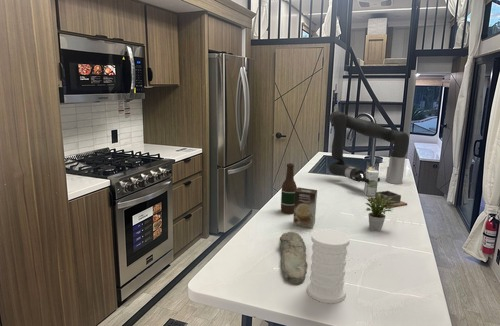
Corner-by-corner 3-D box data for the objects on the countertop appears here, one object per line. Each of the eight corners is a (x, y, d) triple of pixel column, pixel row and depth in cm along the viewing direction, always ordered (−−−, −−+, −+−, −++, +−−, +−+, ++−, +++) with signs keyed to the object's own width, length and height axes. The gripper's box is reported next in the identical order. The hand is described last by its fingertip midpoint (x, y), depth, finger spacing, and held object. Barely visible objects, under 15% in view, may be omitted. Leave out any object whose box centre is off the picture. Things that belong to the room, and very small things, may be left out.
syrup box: (373, 193, 207) (376, 169, 203) (376, 196, 201) (378, 171, 198) (363, 193, 207) (366, 168, 204) (365, 196, 201) (368, 171, 198)
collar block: (367, 201, 195) (368, 191, 194) (387, 198, 200) (388, 188, 199) (387, 209, 182) (388, 199, 181) (407, 206, 188) (408, 196, 187)
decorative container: (316, 277, 116) (320, 225, 112) (351, 289, 109) (356, 235, 105) (300, 293, 106) (303, 237, 103) (336, 308, 100) (341, 249, 96)
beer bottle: (298, 210, 177) (300, 163, 171) (293, 215, 170) (295, 166, 164) (283, 207, 180) (285, 161, 174) (277, 212, 173) (279, 164, 168)
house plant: (374, 238, 146) (378, 200, 143) (350, 226, 158) (354, 191, 155) (398, 232, 153) (403, 196, 149) (374, 221, 165) (377, 187, 161)
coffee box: (292, 225, 157) (294, 191, 154) (295, 220, 163) (297, 187, 160) (313, 228, 154) (315, 193, 151) (315, 223, 160) (317, 189, 157)
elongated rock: (278, 287, 112) (309, 291, 112) (279, 273, 111) (311, 276, 110) (278, 236, 146) (303, 238, 145) (280, 224, 144) (304, 226, 144)
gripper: (345, 168, 211) (364, 175, 196) (364, 166, 217) (384, 173, 202) (344, 180, 213) (363, 188, 198) (362, 178, 219) (382, 185, 204)
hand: (374, 180), depth 200 cm, fingers closed on syrup box, 7 cm apart
